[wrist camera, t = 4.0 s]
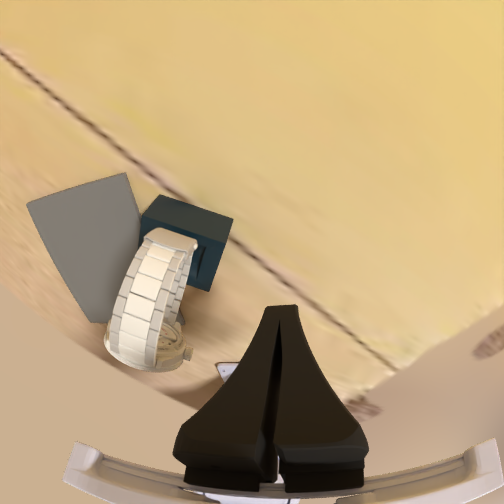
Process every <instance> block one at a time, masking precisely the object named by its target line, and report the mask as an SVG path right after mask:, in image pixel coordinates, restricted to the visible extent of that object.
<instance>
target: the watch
mask: <svg viewBox="0 0 504 504" xmlns="http://www.w3.org/2000/svg"><path fill="white" fill-rule="evenodd" d="M232 223H233V219H232V218H229V217H226V216H223V215H220V214H217V213H214V212H211V211H208V210H205V209H203V208H200V207H197V206H194V205H191V204H188V203H185V202H182V201H179V200H176V199H172V198H169V197H166V196H163V195H159V196H158V197H157V198H156V199H155V200H154V202H153V203H152V204H151V205H150V206H149V208H148V209H147V210H146V211H145V212H144V213H143V215H142V219H141V227H140V234H139V242H138V250H137V253H136V255H135V258H134V259H133V261H132V263H131V265H130V267H129V269H128V271H127V274H126V275H127V276H125V278H124V281H123V283H122V286H121V289H120V291H119V295H118V297H117V299H116V303H115V306H114V310H113V316H112V318H111V319H110V320H109V322H108V325H107V331H106V333H105V335H104V345H105V347H106V349H107V350H108V351H109V353H110V354H111V355H113V356H114V357H115V358H116V359H117V360H119V361H121V362H122V363H124V364H126V365H128V366H131V367H133V368H136V369H139V370H143V371H148V372H168V371H173V370H174V369H177V368H178V367H180V366H181V364H182V362H183V359H185V360H188V361H190V359H191V357H192V353H193V348H189V347H187V348H186V341H185V338H184V336H183V335H182V333H181V325H180V323H179V322H175V320H176V316H177V314H178V310H179V306H180V303H181V300H182V296H183V293H184V289H185V286H186V284H187V285H190V286H193V287H195V288H198V289H201V290H204V291H207V292H209V291H210V288H211V285H212V282H213V279H214V276H215V273H216V270H217V268H218V265H219V262H220V259H221V256H222V253H223V251H224V248H225V245H226V242H227V239H228V235H229V232H230V229H231V226H232ZM128 276H129V277H128ZM133 278H134V279H133ZM178 286H180V287H178ZM182 287H183V288H182ZM131 292H133V293H135V294H133V293H131ZM170 292H171V293H170ZM172 293H174V294H172ZM136 294H138V295H141V296H143V297H141V296H138V295H136ZM175 294H176V295H175ZM144 297H146V298H147V299H146V298H144ZM175 299H177V300H175ZM178 300H180V301H178ZM154 301H155V302H154ZM166 305H167V306H166ZM168 306H169V307H168ZM171 307H172V308H171ZM172 312H173V313H172ZM174 323H175V324H174ZM185 348H186V349H185Z"/></svg>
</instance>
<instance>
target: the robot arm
mask: <svg viewBox="0 0 504 504" xmlns="http://www.w3.org/2000/svg"><path fill="white" fill-rule="evenodd" d="M217 368H218V370H219V373H220V375H221V377H222V379H223V381H224V384H223V385H222V387H221V388H220V389H219V390H218V391H217V393H216V394H215V395H214V396H213V397H212V398H211V399H210V400H209V401H208V402H207V403H206V404H205V405H204V406H203V407H202V408H201V409H200V410H199V411H198V412H197V413H195V414H194V415H193V416H192V417H191V418H190V419H188V420H187V421H186V422H185V423H184V424H182V426H181V428H180V430H179V432H178V435H177V437H176V441H175V445H174V449H173V456H174V457H175V458H176V459H177V460H179V461H180V462H181V463H183V464H184V465H186V470H185V475H184V474H179V473H173V472H168V471H163V470H159V469H155V468H150V467H146V466H142V465H138V464H135V463H131V462H127V461H124V460H121V459H117V458H114V457H111V456H108V455H105V454H103V453H102V452H100V451H99V450H97V449H95V448H93V447H91V446H88V445H86V444H83V443H80V442H78V441H76V442H75V444H74V447H73V450H72V452H71V455H70V458H69V461H68V464H67V466H66V469H65V472H64V475H63V478H62V480H63V481H64V482H66V483H68V484H70V485H72V486H74V487H76V488H78V489H80V490H82V491H84V492H86V493H89V494H91V495H93V496H95V497H97V498H100V499H102V500H104V501H107V502H109V503H112V504H298V503H299V501H300V499H309V498H326V497H337V496H347V495H354V496H350V497H344V498H338V499H337V500H336V503H334V504H464V503H467V502H469V501H472V500H474V499H476V498H478V497H480V496H483V495H485V494H487V493H489V492H491V491H493V490H495V489H497V488H499V487H501V486H503V484H504V481H503V474H502V469H501V463H500V458H499V453H498V449H497V443H496V439H495V438H491V439H489V440H487V441H484V442H482V443H479V444H477V445H474V446H472V447H470V448H469V449H467V450H466V451H465V452H464V453H462V454H460V455H456V456H454V457H450V458H447V459H444V460H441V461H438V462H434V463H431V464H427V465H424V466H420V467H416V468H412V469H407V470H403V471H398V472H393V473H388V474H383V475H377V476H371V477H365V478H364V472H363V471H364V470H363V469H364V467H365V465H364V458H365V456H366V455H367V453H368V451H369V447H368V442H367V439H366V437H365V435H364V432H363V430H362V428H361V426H360V424H359V423H358V422H357V420H356V419H355V418H354V417H353V416H352V415H351V413H350V412H349V411H348V410H347V408H346V407H345V406H344V405H343V403H342V402H341V401H340V399H339V398H338V396H337V395H336V393H335V392H334V391H333V389H332V388H331V386H330V385H329V383H328V381H327V380H326V378H325V376H324V375H323V373H322V371H321V369H320V368H319V366H318V364H317V362H316V360H315V358H314V356H313V354H312V351H311V349H310V347H309V345H308V342H307V340H306V337H305V334H304V332H303V329H302V325H301V322H300V318H299V313H298V306H297V305H295V304H294V305H279V306H267V307H266V308H265V310H264V314H263V316H262V319H261V322H260V324H259V326H258V329H257V331H256V333H255V335H254V337H253V339H252V341H251V343H250V345H249V347H248V349H247V350H246V352H245V354H244V356H243V357H242V359H241V361H240V362H239V363H219V364H218V366H217ZM183 489H186V490H191V491H193V492H189V491H185V490H183ZM369 492H371V493H369ZM363 493H365V494H363ZM355 494H359V495H355Z"/></svg>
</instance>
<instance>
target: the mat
mask: <svg viewBox="0 0 504 504" xmlns="http://www.w3.org/2000/svg"><path fill="white" fill-rule="evenodd" d="M26 206H27V208H28V211H29V213H30V215H31V217H32V220H33V222H34V224H35V226H36V228H37V230H38V232H39V235H40V237H41V239H42V241H43V243H44V245H45V247H46V249H47V251H48V252H49V254H50V256H51V258H52V260H53V262H54V264H55V266H56V267H57V269H58V271H59V273H60V275H61V276H62V278H63V280H64V281H65V283H66V285H67V287H68V288H69V290H70V292H71V293H72V295H73V296H74V298H75V300H76V301H77V303H78V304H79V306H80V308H81V309H82V311H83V312H84V314H85V315H86V317H87V318H88V320H89V321H90V323H108V322H109V320H110V319H111V318H112V316H113V310H114V306H115V303H116V299H117V297H118V295H119V291H120V289H121V286H122V283H123V281H124V278H125V276H127V275H126V274H127V271H128V269H129V267H130V265H131V263H132V261H133V259H134V258H135V255H136V253H137V250H138V242H139V234H140V227H141V219H142V218H141V215H140V213H139V210H138V207H137V204H136V201H135V199H134V196H133V193H132V190H131V187H130V184H129V181H128V178H127V175H126V172H125V173H121V174H118V175H114V176H110V177H106V178H103V179H99V180H96V181H92V182H89V183H85V184H82V185H79V186H76V187H72V188H69V189H66V190H63V191H60V192H57V193H54V194H51V195H48V196H45V197H42V198H39V199H37V200H34V201H31V202H28V203H27V204H26ZM128 277H129V276H128ZM133 279H134V278H133ZM131 293H133V292H131ZM170 293H171V292H170ZM133 294H135V293H133ZM136 295H138V294H136ZM138 296H141V295H138ZM141 297H143V296H141ZM144 298H146V297H144ZM146 299H147V298H146ZM154 302H155V301H154ZM166 306H167V305H166ZM168 307H169V306H168ZM171 308H172V307H171ZM172 313H173V312H172ZM175 322H179V323H180V325H184V324H185V321H184V319H183V317H182V315H181V312H180V310H178V314H177V316H176V320H175ZM174 324H175V323H174Z"/></svg>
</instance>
